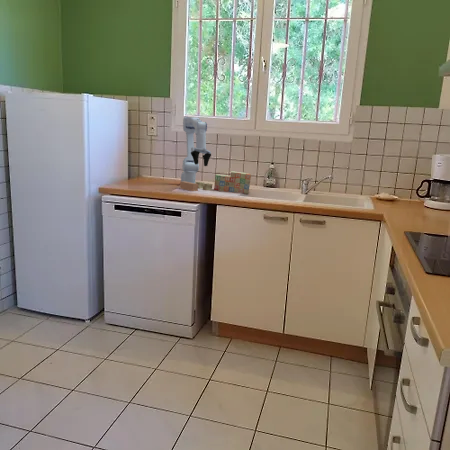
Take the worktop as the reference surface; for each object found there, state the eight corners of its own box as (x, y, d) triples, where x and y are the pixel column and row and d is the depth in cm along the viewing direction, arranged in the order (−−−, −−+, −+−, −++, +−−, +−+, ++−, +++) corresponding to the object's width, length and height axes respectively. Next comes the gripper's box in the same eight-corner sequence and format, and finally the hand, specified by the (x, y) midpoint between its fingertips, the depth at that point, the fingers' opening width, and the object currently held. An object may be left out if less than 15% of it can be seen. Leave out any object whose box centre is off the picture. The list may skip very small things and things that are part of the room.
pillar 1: (195, 187, 269) (195, 181, 268) (199, 187, 272) (200, 181, 271) (199, 188, 266) (199, 182, 265) (204, 188, 269) (204, 182, 268)
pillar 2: (202, 189, 264) (203, 183, 263) (207, 188, 267) (207, 183, 266) (207, 190, 261) (207, 184, 261) (211, 189, 264) (212, 184, 264)
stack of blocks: (213, 190, 263) (215, 169, 261) (214, 188, 269) (216, 169, 267) (248, 194, 262) (251, 174, 259) (248, 193, 268) (251, 173, 265)
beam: (180, 188, 261) (180, 181, 260) (184, 187, 263) (184, 181, 263) (193, 190, 253) (193, 184, 252) (197, 190, 255) (198, 184, 254)
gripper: (196, 138, 245) (196, 162, 245) (214, 143, 256) (214, 165, 255) (188, 141, 250) (188, 164, 249) (206, 145, 261) (206, 167, 260)
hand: (201, 165), depth 253 cm, fingers open, 7 cm apart
